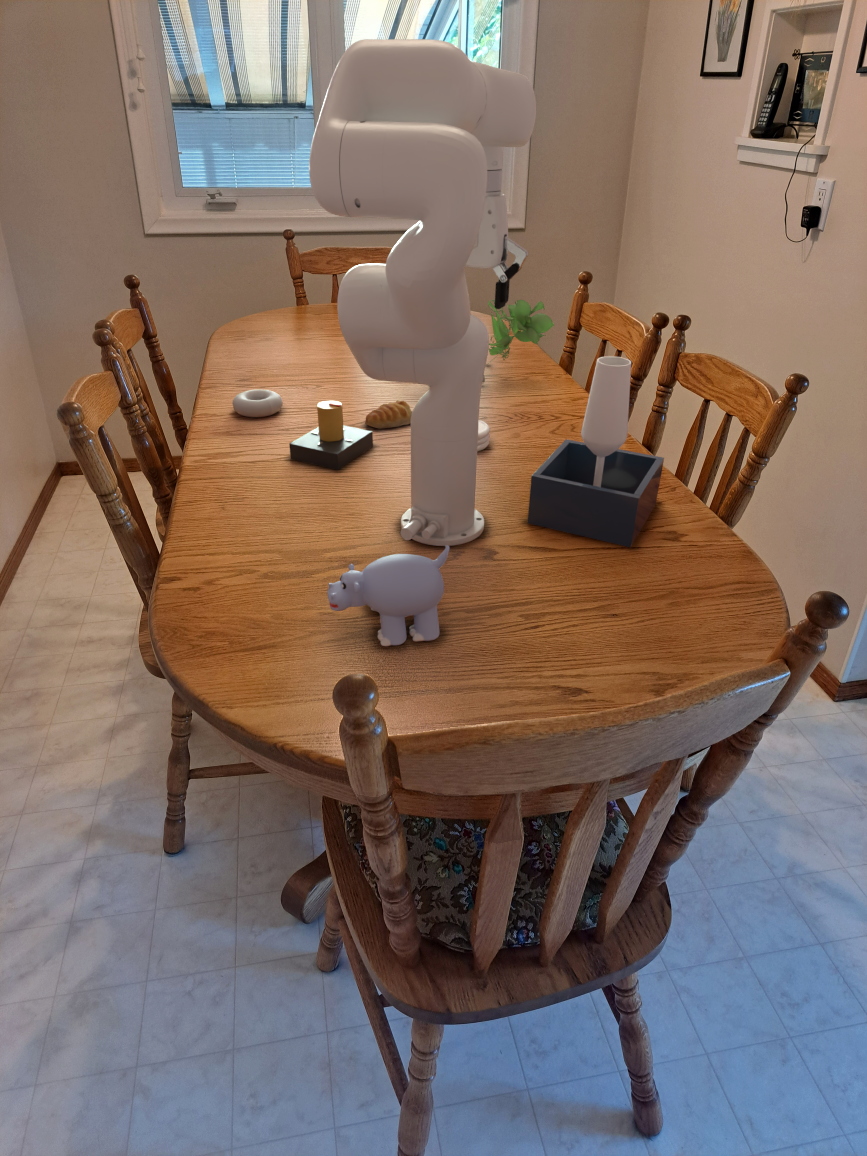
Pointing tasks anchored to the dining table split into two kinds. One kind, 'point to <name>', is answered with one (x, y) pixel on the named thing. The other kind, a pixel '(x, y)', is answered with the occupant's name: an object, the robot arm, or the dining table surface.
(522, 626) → the dining table surface
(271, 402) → the donut
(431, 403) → the robot arm
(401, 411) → the pastry
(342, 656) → the dining table surface
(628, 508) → the basin
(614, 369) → the champagne flute
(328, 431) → the tap knob
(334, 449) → the panel
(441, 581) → the hippopotamus toy
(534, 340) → the plant cuttings
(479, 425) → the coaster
